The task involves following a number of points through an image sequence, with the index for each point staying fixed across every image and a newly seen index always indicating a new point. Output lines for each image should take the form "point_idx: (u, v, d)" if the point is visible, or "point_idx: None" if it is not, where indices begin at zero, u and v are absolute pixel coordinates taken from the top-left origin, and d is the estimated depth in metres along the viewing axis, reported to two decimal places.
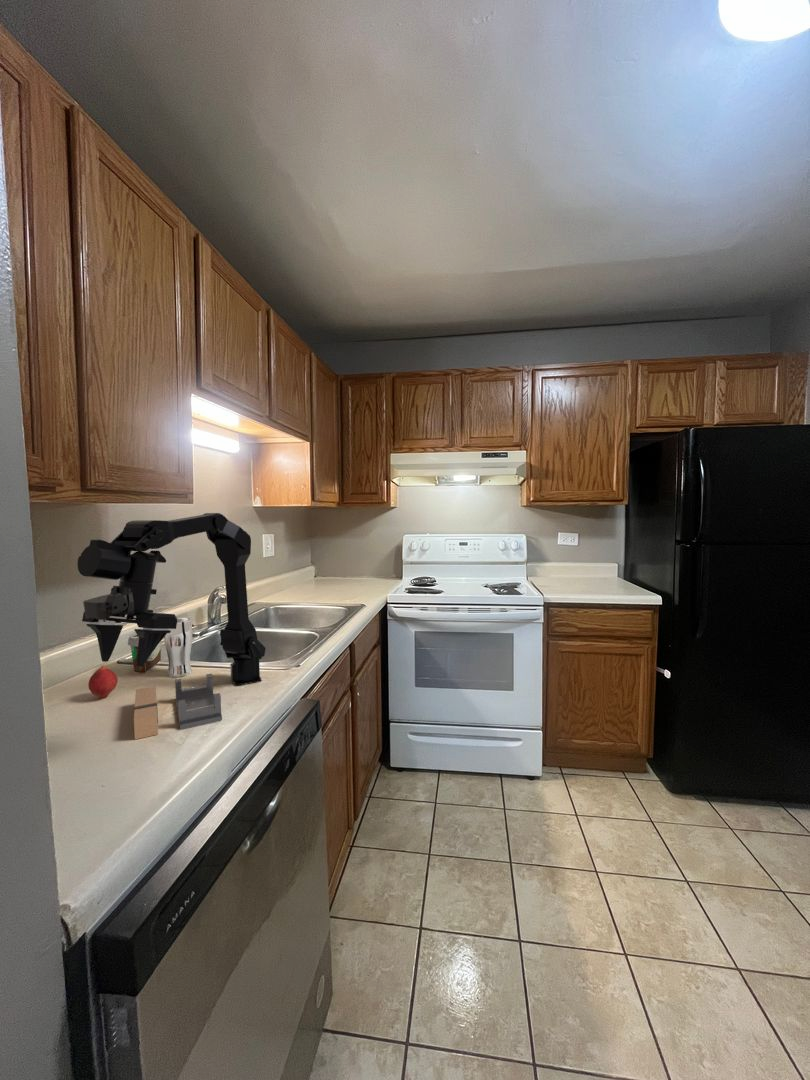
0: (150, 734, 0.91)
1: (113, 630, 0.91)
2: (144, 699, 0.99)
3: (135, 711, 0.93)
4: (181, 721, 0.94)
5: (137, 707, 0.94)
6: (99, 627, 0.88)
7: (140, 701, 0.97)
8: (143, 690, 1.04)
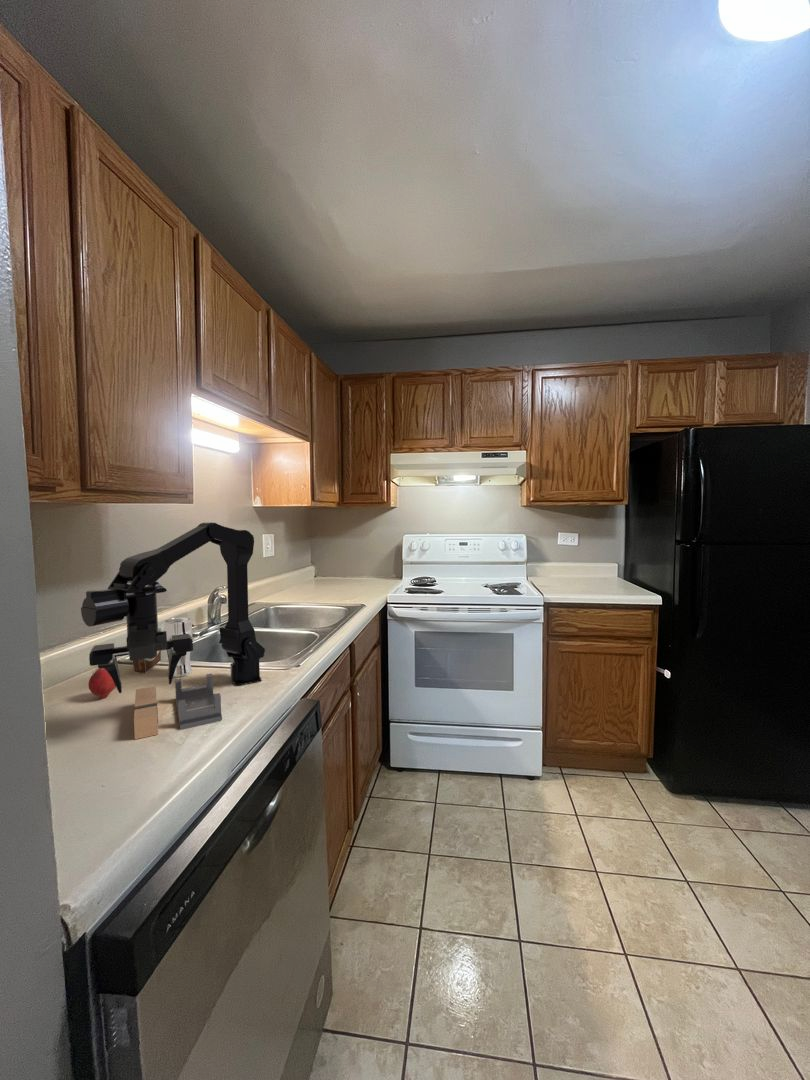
0: (150, 734, 0.91)
1: (116, 663, 0.96)
2: (144, 699, 0.99)
3: (135, 711, 0.93)
4: (181, 721, 0.94)
5: (137, 707, 0.94)
6: (115, 665, 0.93)
7: (140, 701, 0.97)
8: (143, 690, 1.04)
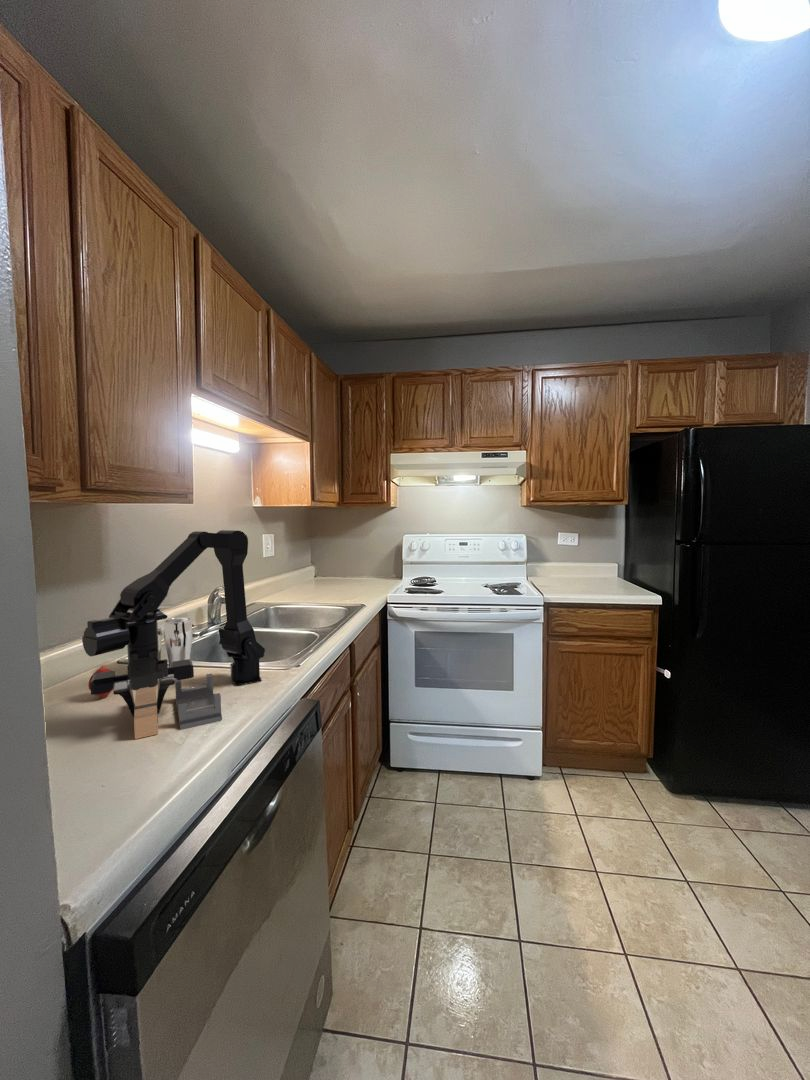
0: (150, 734, 0.91)
1: (131, 688, 0.97)
2: (144, 699, 0.99)
3: (135, 711, 0.93)
4: (181, 721, 0.94)
5: (137, 707, 0.94)
6: (130, 691, 0.94)
7: (140, 701, 0.97)
8: (143, 689, 1.04)
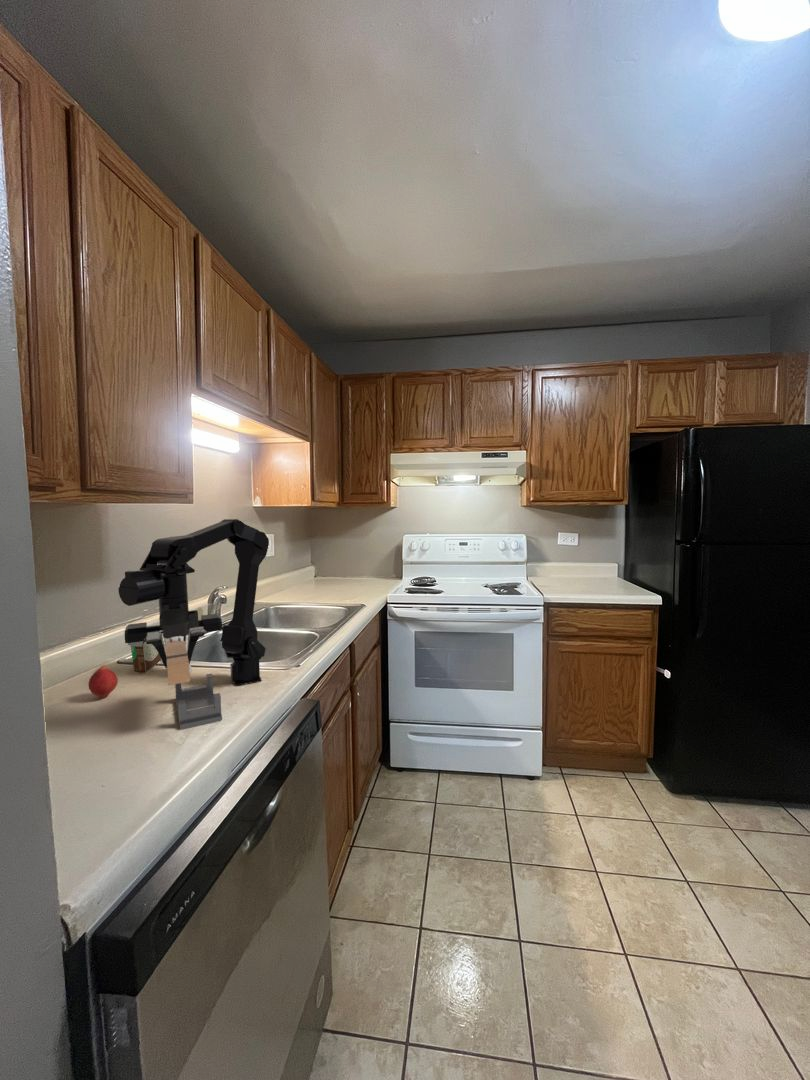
0: (183, 681, 0.93)
1: (162, 640, 1.00)
2: (175, 651, 1.01)
3: (167, 660, 0.95)
4: (181, 721, 0.94)
5: (169, 656, 0.97)
6: (162, 641, 0.97)
7: (171, 652, 1.00)
8: (172, 643, 1.07)
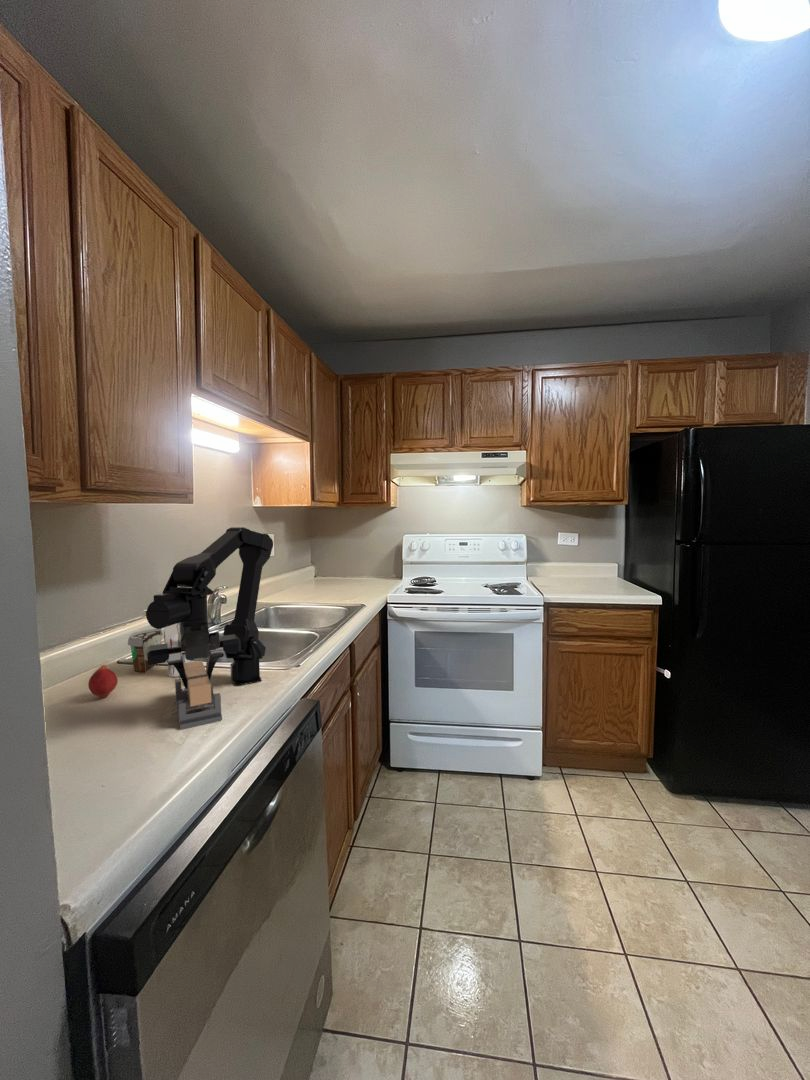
0: (205, 702, 0.95)
1: None
2: (194, 671, 1.03)
3: (189, 681, 0.97)
4: (181, 721, 0.94)
5: (190, 677, 0.99)
6: None
7: (191, 673, 1.02)
8: (190, 663, 1.09)
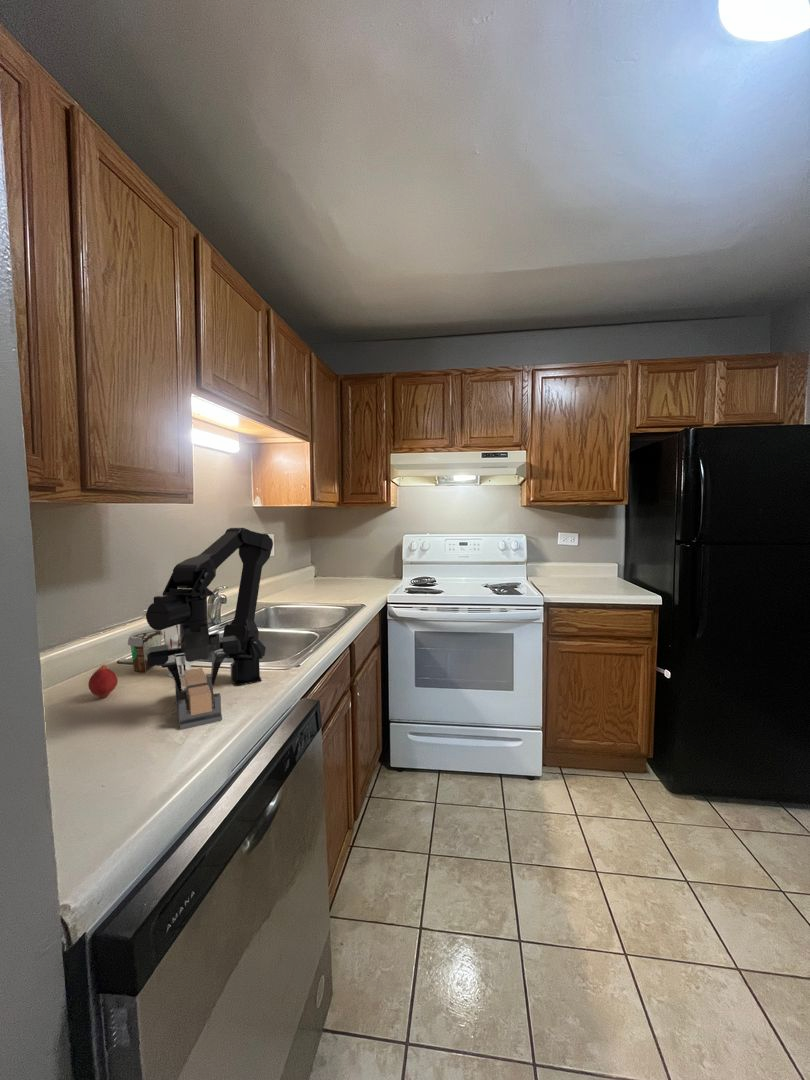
0: (205, 711, 0.95)
1: None
2: (195, 679, 1.03)
3: (189, 689, 0.97)
4: (181, 721, 0.94)
5: (190, 686, 0.99)
6: None
7: (192, 681, 1.02)
8: (191, 671, 1.09)
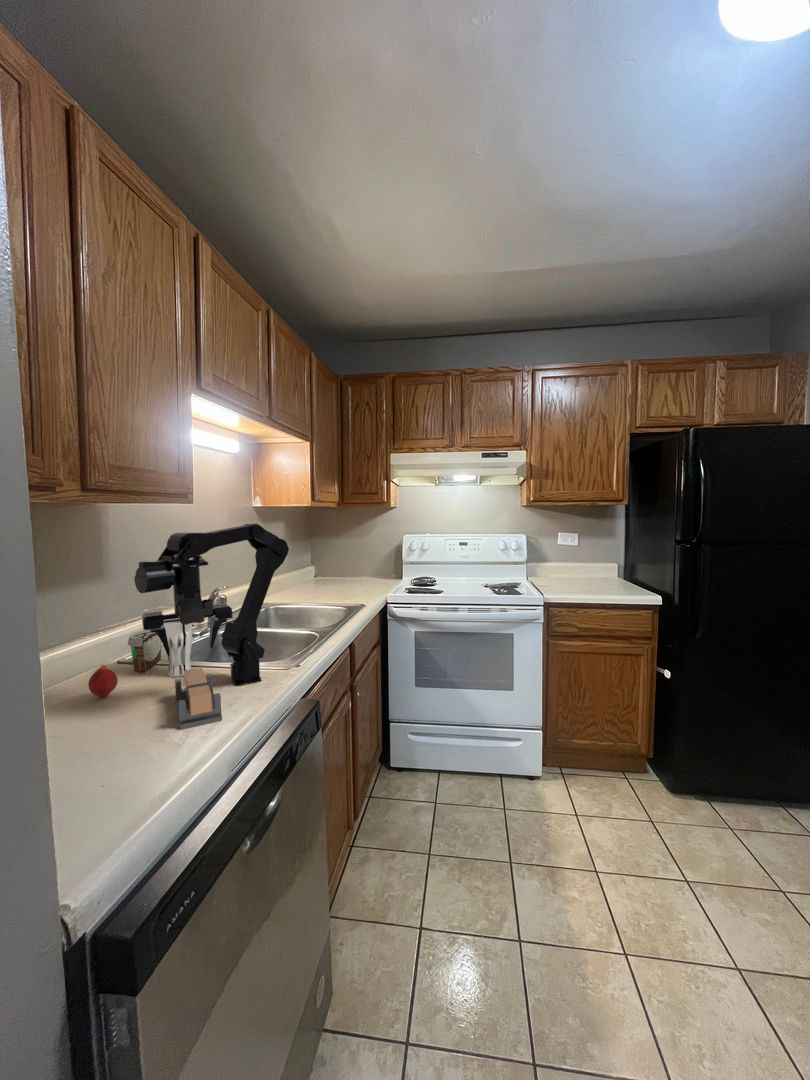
0: (205, 711, 0.95)
1: None
2: (195, 679, 1.03)
3: (189, 689, 0.97)
4: (181, 721, 0.94)
5: (190, 686, 0.99)
6: (165, 630, 1.03)
7: (192, 681, 1.02)
8: (191, 671, 1.09)
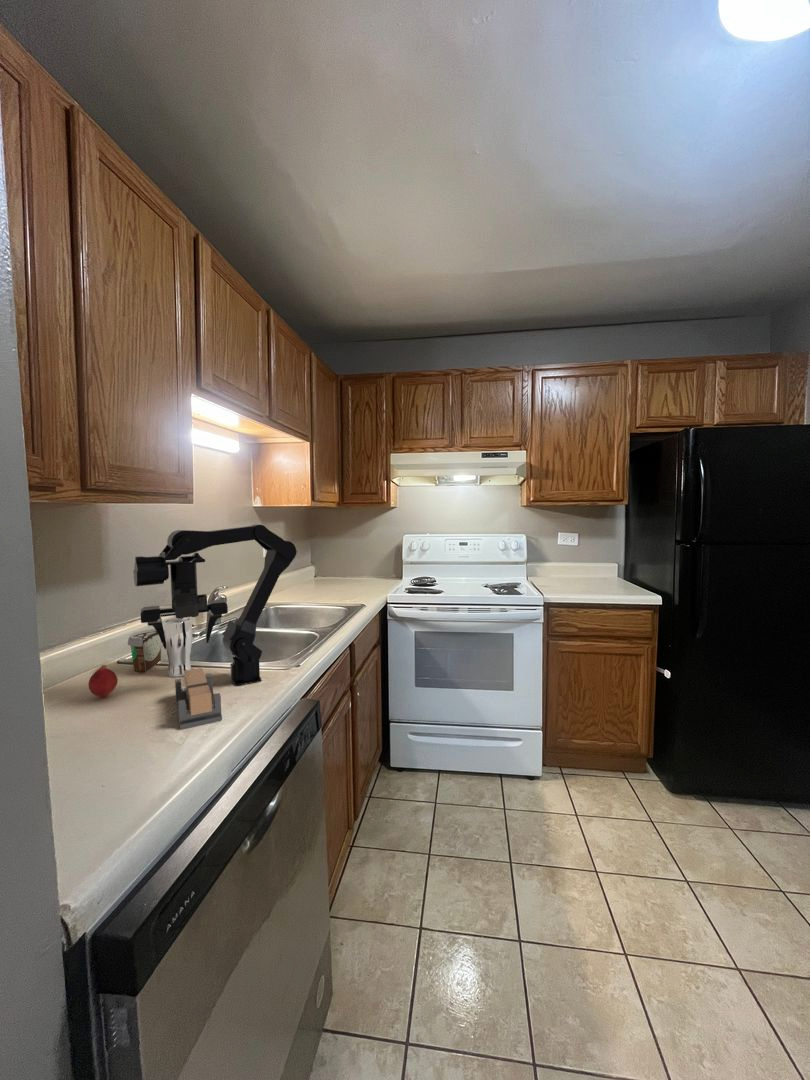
0: (205, 711, 0.95)
1: None
2: (195, 679, 1.03)
3: (189, 689, 0.97)
4: (181, 721, 0.94)
5: (190, 686, 0.99)
6: None
7: (192, 681, 1.02)
8: (191, 671, 1.09)
